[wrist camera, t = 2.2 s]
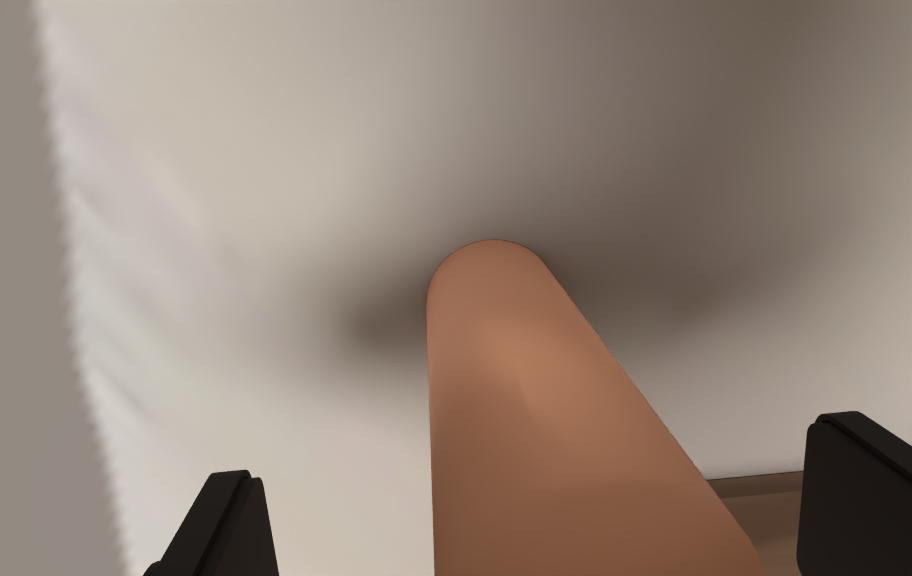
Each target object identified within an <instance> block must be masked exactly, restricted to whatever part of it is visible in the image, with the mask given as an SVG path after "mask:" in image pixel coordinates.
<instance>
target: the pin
mask: <svg viewBox="0 0 912 576" xmlns="http://www.w3.org/2000/svg"><path fill="white" fill-rule="evenodd" d="M426 316H427V348H428V379H429V411H430V442H431V474H432V505H433V537H434V569H435V576H764V574H763V569H762V566H761V563H760V560H759V557H758V554H757V552H756V550H755V548H754V546H753V544H752V542H751V541H750V539H749V537H748V536H747V535H746V533H745V532H744V531H743V529H742V528H741V527H740V525H739V524H738V522H737V521H736V520H735V518H734V517H733V516H732V514H731V513H730V512H729V510H728V509H727V508H726V506H725V505H724V504H723V502H722V501H721V500H720V498H719V497H718V496H717V494H716V493H715V492H714V490H713V489H712V488H711V486H710V485H709V484H708V482H707V481H706V480H705V478H704V477H703V476H702V474H701V473H700V472H699V470H698V469H697V468H696V466H695V465H694V464H693V462H692V461H691V459H690V458H689V457H688V455H687V454H686V453H685V451H684V450H683V449H682V447H681V446H680V445H679V443H678V442H677V441H676V439H675V438H674V437H673V435H672V434H671V433H670V431H669V430H668V429H667V427H666V426H665V425H664V423H663V422H662V421H661V419H660V418H659V417H658V415H657V414H656V413H655V411H654V410H653V409H652V407H651V406H650V405H649V403H648V402H647V400H646V399H645V398H644V396H643V395H642V394H641V392H640V391H639V390H638V388H637V387H636V386H635V384H634V383H633V382H632V380H631V379H630V378H629V376H628V375H627V374H626V372H625V371H624V370H623V368H622V367H621V366H620V364H619V363H618V362H617V360H616V359H615V358H614V356H613V355H612V354H611V352H610V351H609V350H608V348H607V347H606V346H605V344H604V343H603V342H602V340H601V339H600V337H599V336H598V335H597V333H596V332H595V331H594V329H593V328H592V327H591V325H590V324H589V323H588V321H587V320H586V319H585V317H584V316H583V315H582V313H581V312H580V311H579V309H578V308H577V307H576V305H575V304H574V303H573V301H572V300H571V299H570V297H569V296H568V295H567V293H566V292H565V291H564V289H563V288H562V287H561V285H560V284H559V283H558V281H557V280H556V279H555V277H554V276H553V274H552V273H551V272H550V270H549V269H548V268H547V266H546V265H545V264H544V263H543V261H542V260H541V259H540V258H539V257H538V256H537V255H536V254H534V253H533V252H532V251H530V250H529V249H527V248H525V247H523V246H521V245H519V244H516V243H513V242H509V241H504V240H484V241H478V242H475V243H471V244H469V245H466V246H464V247H462V248H460V249H458V250H457V251H455V252H454V253H452V254H451V255H450V256H449V257H447V258H446V259H445V260H444V261H443V262H442V264H441V265H440V266H439V267H438V269H437V270H436V272H435V274H434V275H433V277H432V279H431V282H430V284H429V288H428V292H427V298H426Z"/></svg>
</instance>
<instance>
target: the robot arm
mask: <svg viewBox="0 0 912 576" xmlns="http://www.w3.org/2000/svg"><path fill="white" fill-rule="evenodd" d="M796 560H797V565H798V568H799V571H800V573H801V575H802V576H912V446H911V445H909V444H908V443H906V442H905V441H903V440H901V439H900V438H898V437H897V436H895V435H894V434H892V433H891V432H889V431H888V430H886V429H885V428H883V427H882V426H880V425H879V424H877V423H876V422H874V421H873V420H871V419H870V418H868V417H867V416H865V415H864V414H862V413H860V412H858V411H848V412H838V413H828V414H821V415H820V416H818V418H817V419H816V421H815V423H813V424H811V425H810V426H809V428H808V431H807V439H806V450H805V461H804V472H803V484H802V495H801V506H800V517H799V529H798V540H797V551H796ZM143 576H279V572H278V566H277V560H276V555H275V549H274V543H273V538H272V532H271V526H270V521H269V515H268V509H267V504H266V498H265V492H264V487H263V482H262V480H261V478H259V477H257V478H251V475H250V473H249V471H248V470H238V471H227V472H217V473H211V475H210V476H209V477H208V479H207V481H206V482H205V484H204V486H203V487H202V489H201V491H200V493H199V494H198V496H197V498H196V500H195V501H194V503H193V505H192V507H191V508H190V510H189V512H188V514H187V515H186V517H185V519H184V521H183V522H182V524H181V526H180V527H179V529H178V531H177V533H176V534H175V536H174V538H173V540H172V541H171V543H170V545H169V547H168V548H167V550H166V552H165V554H164V555H163V557H162V559H161V560H160V561H157V562H155V563H153V564H151V565H150V566H149V568H148V569H147V570H146V571H145V573H144V575H143Z"/></svg>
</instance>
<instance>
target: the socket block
mask: <svg viewBox="0 0 912 576" xmlns="http://www.w3.org/2000/svg"><path fill="white" fill-rule="evenodd" d="M707 482H708V484H709V485H710V486H711V488H712V489H713V490H714V492H715V493H716V494H717V496H718V497H719V498H720V500H721V501H722V502H723V504H724V505H725V506H726V508H727V509H728V510H729V512H730V513H731V514H732V516H733V517H734V518H735V520H736V521H737V522H738V524H739V525H740V527H741V528H742V529H743V531H744V532H745V533H746V535H747V536H748V537H749V539H750V541H751V542H752V544H753V546H754V548H755V550H756V552H757V554H758V557H759V560H760V563H761V566H762V569H763V574H764V576H802V575H801V573H800V571H799V568H798V565H797V560H796V551H797V540H798V529H799V517H800V506H801V495H802V484H803V472H793V473H783V474H772V475H762V476H751V477H741V478H730V479H720V480H709V481H707Z"/></svg>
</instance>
